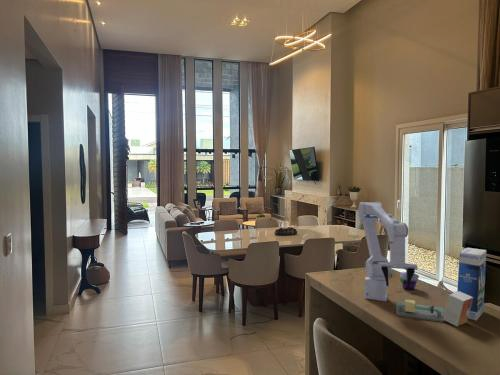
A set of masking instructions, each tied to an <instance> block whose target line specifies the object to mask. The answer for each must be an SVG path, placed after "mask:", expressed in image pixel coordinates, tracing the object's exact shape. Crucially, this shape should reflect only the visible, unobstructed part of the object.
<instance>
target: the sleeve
mask: <svg viewBox="0 0 500 375" xmlns="http://www.w3.org/2000/svg"><path fill="white" fill-rule="evenodd" d="M404 303H405V311H407V312H414V313H415V305H416V300H413V299H405V298H404Z"/></svg>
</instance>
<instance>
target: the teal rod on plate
mask: <svg viewBox="0 0 500 375" xmlns="http://www.w3.org/2000/svg"><path fill="white" fill-rule="evenodd" d="M395 311H396V312H395V314H396V315H395V316H398V317H403V318H404V317H405V318H412V319H418V320H425V321H431V322H439V323H446V321H445V320H443V317H444V314H443V313H445V310H444V308H443V307H438V306H437V307H435V306H434V304H430V306H428V305H421V304H415V313H414V312H407V311H405V302H399V301H396V306H395Z"/></svg>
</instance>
